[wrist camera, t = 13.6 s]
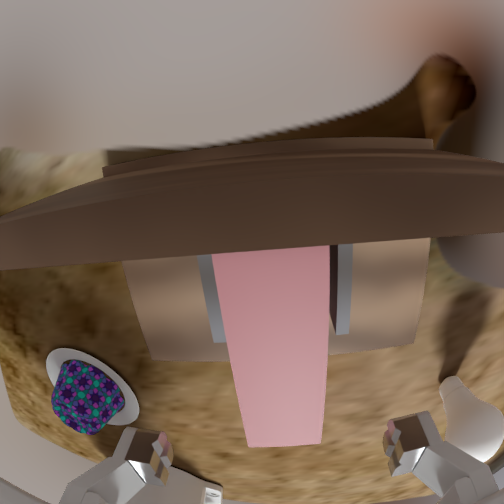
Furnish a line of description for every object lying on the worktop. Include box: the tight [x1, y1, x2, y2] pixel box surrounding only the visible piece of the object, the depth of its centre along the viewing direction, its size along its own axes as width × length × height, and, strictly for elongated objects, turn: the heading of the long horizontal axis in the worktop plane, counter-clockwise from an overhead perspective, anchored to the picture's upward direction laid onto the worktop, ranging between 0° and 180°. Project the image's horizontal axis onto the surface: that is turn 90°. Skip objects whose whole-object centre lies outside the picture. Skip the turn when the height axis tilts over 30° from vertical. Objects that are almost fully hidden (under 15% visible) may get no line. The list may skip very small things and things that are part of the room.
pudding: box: [46, 348, 139, 435], centre depth 26 cm, size 12×12×5 cm
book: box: [211, 245, 330, 447], centre depth 17 cm, size 12×4×9 cm, turn 6°
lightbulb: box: [439, 376, 504, 462], centre depth 20 cm, size 6×6×11 cm
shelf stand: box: [0, 137, 504, 362], centre depth 15 cm, size 16×22×13 cm
